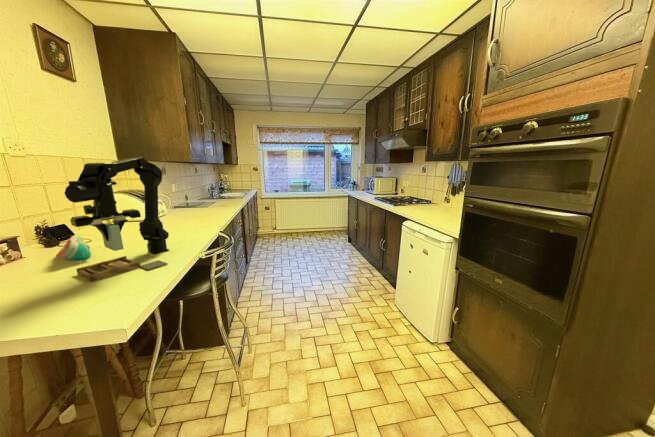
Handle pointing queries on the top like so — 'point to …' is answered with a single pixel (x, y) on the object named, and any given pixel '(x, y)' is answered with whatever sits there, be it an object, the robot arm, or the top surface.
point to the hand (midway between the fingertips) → (112, 239)
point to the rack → (106, 269)
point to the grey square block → (113, 237)
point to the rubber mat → (153, 265)
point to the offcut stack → (117, 264)
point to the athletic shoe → (75, 250)
